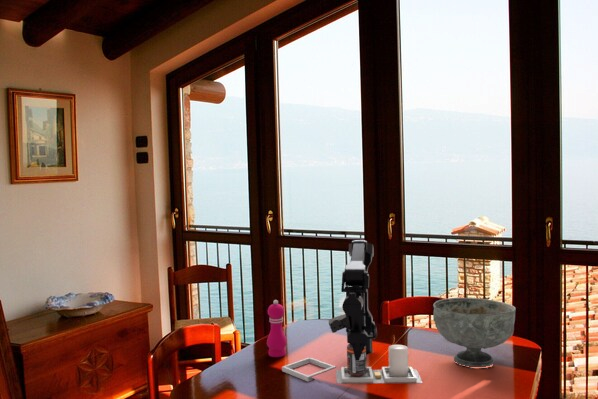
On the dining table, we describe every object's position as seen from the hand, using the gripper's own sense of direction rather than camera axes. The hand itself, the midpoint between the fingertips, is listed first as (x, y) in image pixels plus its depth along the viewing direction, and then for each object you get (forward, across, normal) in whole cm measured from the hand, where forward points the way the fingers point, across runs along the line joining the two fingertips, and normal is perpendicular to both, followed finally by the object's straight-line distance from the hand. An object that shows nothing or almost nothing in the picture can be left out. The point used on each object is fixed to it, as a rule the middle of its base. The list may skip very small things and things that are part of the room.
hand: (356, 356), depth 168 cm
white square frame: (+7, -8, -15) cm, 19 cm away
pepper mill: (+8, -24, -27) cm, 37 cm away
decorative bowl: (+8, -15, +40) cm, 44 cm away
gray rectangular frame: (+7, 0, +6) cm, 10 cm away
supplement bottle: (+6, 0, 0) cm, 6 cm away
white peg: (+6, 0, +13) cm, 14 cm away
